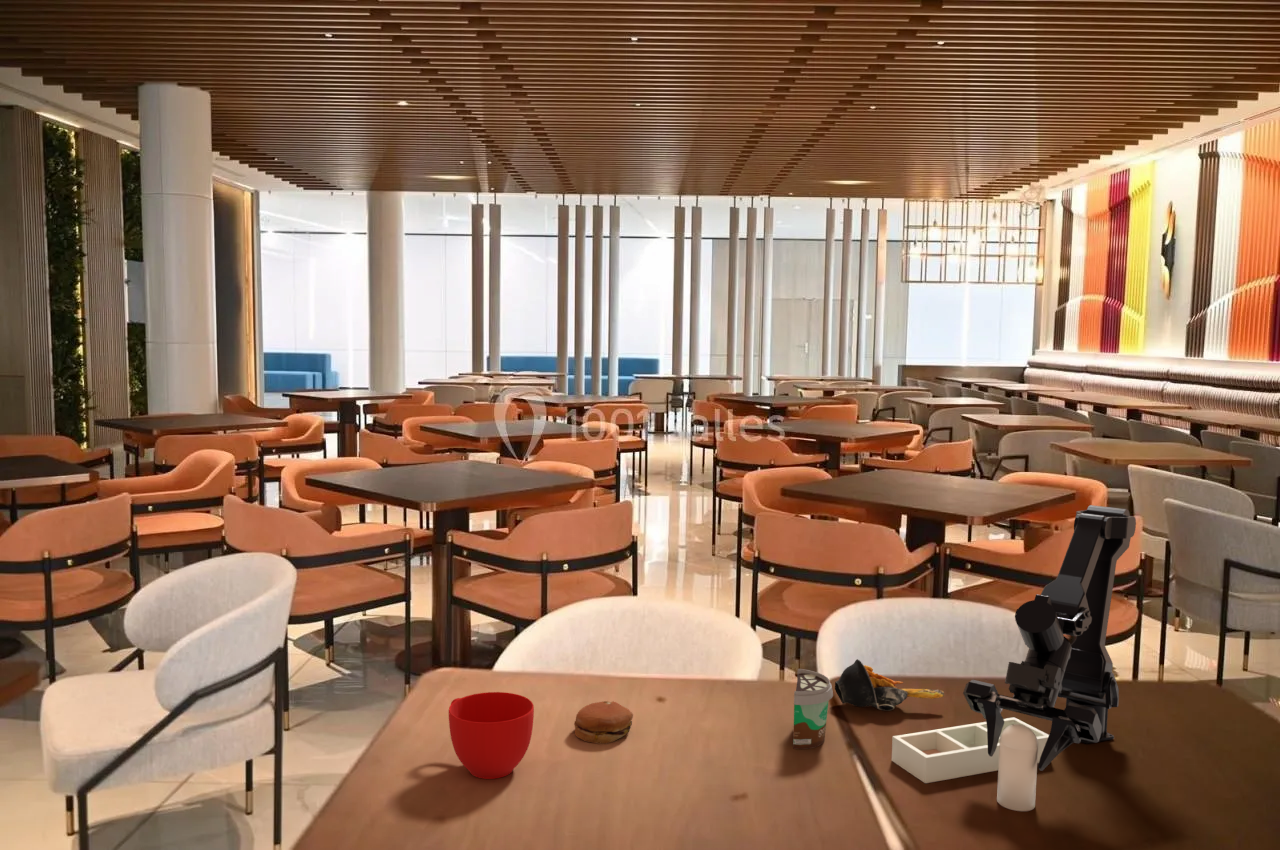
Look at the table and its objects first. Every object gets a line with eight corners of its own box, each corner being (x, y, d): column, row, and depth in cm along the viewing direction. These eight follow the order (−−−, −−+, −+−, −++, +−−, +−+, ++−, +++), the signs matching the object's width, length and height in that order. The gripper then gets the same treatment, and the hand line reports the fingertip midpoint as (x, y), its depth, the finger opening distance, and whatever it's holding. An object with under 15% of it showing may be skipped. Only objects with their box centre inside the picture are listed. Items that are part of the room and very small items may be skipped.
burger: (577, 746, 165) (577, 718, 164) (572, 724, 174) (572, 698, 174) (636, 743, 166) (637, 716, 166) (629, 722, 175) (629, 696, 175)
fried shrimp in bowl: (824, 670, 189) (913, 639, 190) (846, 729, 186) (937, 696, 187) (832, 668, 180) (925, 635, 182) (855, 729, 177) (950, 695, 178)
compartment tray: (1013, 740, 169) (1014, 717, 169) (1050, 760, 161) (1052, 736, 161) (891, 760, 160) (892, 736, 160) (925, 783, 153) (926, 757, 152)
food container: (831, 755, 162) (833, 695, 161) (792, 752, 163) (794, 692, 162) (832, 726, 174) (834, 670, 173) (796, 723, 175) (797, 667, 174)
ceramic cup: (485, 738, 167) (485, 679, 166) (550, 770, 155) (551, 707, 154) (418, 760, 158) (417, 699, 157) (481, 797, 146) (481, 730, 145)
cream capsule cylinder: (1017, 792, 150) (1021, 716, 149) (1043, 807, 145) (1047, 729, 144) (989, 797, 148) (992, 721, 147) (1014, 813, 143) (1018, 734, 142)
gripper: (970, 627, 153) (937, 718, 146) (1100, 653, 141) (1071, 754, 134) (987, 665, 160) (957, 754, 153) (1113, 693, 148) (1086, 791, 141)
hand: (1014, 762), depth 145 cm, fingers open, 7 cm apart
